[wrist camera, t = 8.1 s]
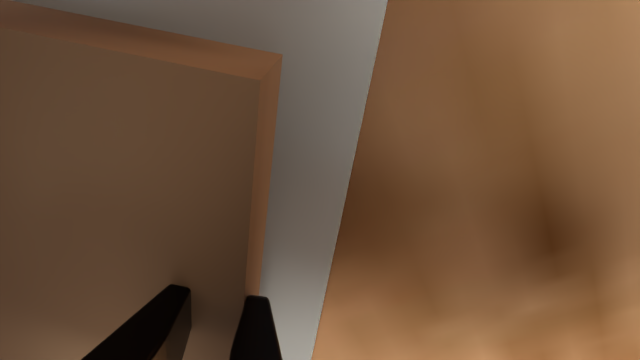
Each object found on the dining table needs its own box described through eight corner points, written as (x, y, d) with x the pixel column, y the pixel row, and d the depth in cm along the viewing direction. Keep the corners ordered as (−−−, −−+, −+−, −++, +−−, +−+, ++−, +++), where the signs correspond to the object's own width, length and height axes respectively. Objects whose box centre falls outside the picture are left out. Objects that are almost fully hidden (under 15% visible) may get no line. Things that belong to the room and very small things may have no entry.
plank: (282, 53, 7) (259, 80, 6) (244, 434, 13) (230, 479, 12) (-294, -60, 8) (-404, -55, 7) (-77, 350, 13) (-116, 386, 12)
